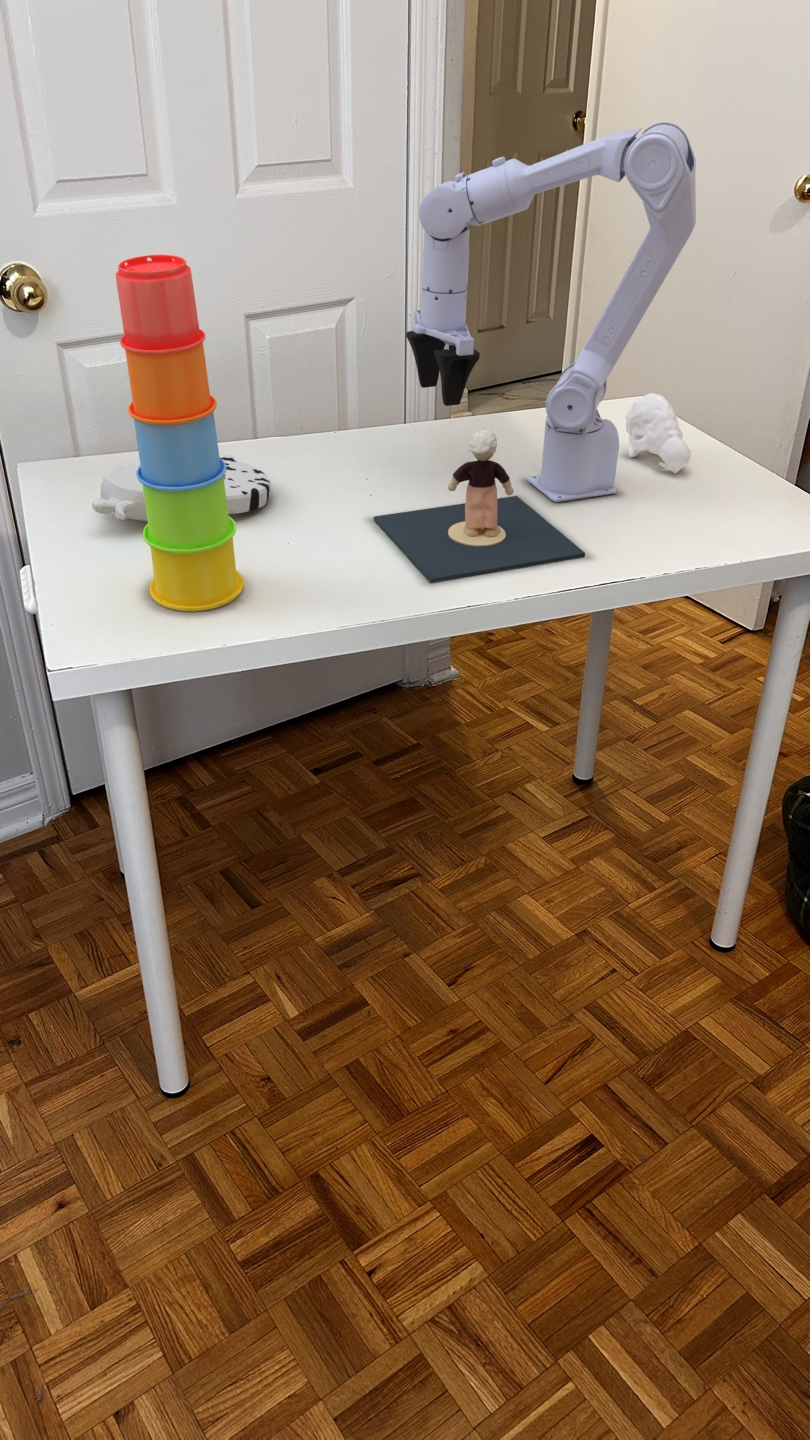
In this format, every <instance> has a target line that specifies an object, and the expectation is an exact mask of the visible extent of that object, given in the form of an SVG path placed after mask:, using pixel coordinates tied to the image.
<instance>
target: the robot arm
mask: <svg viewBox="0 0 810 1440" xmlns="http://www.w3.org/2000/svg"><path fill="white" fill-rule="evenodd" d="M642 130H643V127H637V128H632V129H626V130H623V131H619V132H613V133H611V134H607V135H604V136H602V137H599V138H597V139H594V140H592V141H589V142H586V143H584V144H581V145H579V146H576V147H574V148H570V149H569V150H566V151H564V152H561V153H559V154H556V155H554V156H551V157H548V158H546V159H544V160H540V161H539V162H536V163H533V164H530V165H529V164H526V163H524V162H522V161H520V160H519V159H516V158H511V159H508V160H506V157H505V156H500V157H498V158H495V159H493V160H492V161H491V164H492V165H491V166H489V167H487V168H484V169H481V170H478V171H475V172H473V173H470V174H467V175H466V173H465V172H464V171H463V172H460V173H458V174H456V175H455V176H454V179H455V180H449V181H446V182H442V183H441V184H440V185H437V186H436V187H434V188H432V189H431V190H430V191H428V192H427V193H426V194H425V196H423V198H422V200H421V201H420V205H419V209H418V217H419V218H418V219H419V222H420V225H421V227H422V229H423V230H424V231H423V232H424V233H423V235H424V236H423V249H422V268H421V269H422V272H421V273H422V274H421V300H420V301H421V302H420V303H421V305H420V306H421V307H420V309H414V310H413V324H412V325H411V330H409V331H406V333H405V337H406V339H407V341H408V343H409V345H410V347H411V350H412V353H413V356H414V357H413V358H414V361H415V366H416V370H417V376H418V383H419V385H420V387H421V388H422V389H424V388H432V387H433V388H434V387H437V384H438V382H439V377H440V384H441V385H440V386H441V398H442V403H443V405H444V406H445V407H450V406H451V407H452V406H459V405H460V404H461V401H462V399H463V395H464V392H465V389H466V385H467V382H468V380H469V378H470V375H471V373H472V372H473V369H474V368H475V366H476V364H477V363H478V361H479V360H480V356H481V352H479V351H478V350H477V349H475V338H474V337H472V336H471V333H470V331H469V327H468V324H467V323H466V322H467V321H466V320H467V302H468V286H469V285H468V283H469V266H470V233H471V231H470V230H471V229H470V227H471V226H476V227H481V226H483V225H485V224H489V223H491V222H495V221H497V220H500V219H503V218H504V219H505V218H506V217H510V216H513V215H515V214H518V213H520V212H524V211H527V210H528V209H529V208H530V206H531V204H532V201H533V199H534V197H535V195H536V194H537V195H538V194H540V193H543V192H547V191H549V190H553V189H556V188H559V187H563V186H565V185H570V184H573V183H576V182H578V181H582V180H585V179H589V178H591V177H594V176H601V177H603V178H606V179H608V180H611V181H614V182H617V183H620V182H621V181H622V180H623V179H624V178H625V177H626V180H627V182H628V183H629V185H630V186H631V188H632V189H633V190H634V193H636V195H637V196H638V197H639V199H640V200H641V201H642V203H643V207H644V212H645V214H646V217H647V220H648V225H649V230H648V232H647V233H646V236H645V237H644V238H643V241H642V243H641V244H640V246H639V247H638V250H637V251H636V253H635V255H634V257H633V258H632V261H631V262H630V264H629V266H628V267H627V269H626V271H625V272H624V275H623V276H622V279H621V280H620V282H619V284H618V286H617V287H616V289H615V291H614V293H613V294H612V296H611V298H610V300H609V302H608V304H607V305H606V307H605V308H604V310H603V313H602V314H601V315H600V318H599V320H598V321H597V323H596V325H595V327H594V328H593V330H592V332H591V334H590V335H589V338H588V339H587V341H586V343H585V345H584V346H583V348H582V350H581V352H580V353H579V355H578V357H577V359H576V360H575V361H574V362H573V363H571V364H570V365H568V366H567V367H565V369H563V371H562V372H561V374H560V376H559V379H558V380H557V383H556V384H555V385H554V387H552V388H551V390H550V391H549V392H548V395H547V397H546V401H545V411H546V417H545V425H544V435H543V436H544V437H543V447H542V455H541V466H540V474H539V475H533V476H528V477H527V482H529V483H530V484H531V485H532V486H533V487H535V488H536V489H537V490H539V492H541V493H542V494H544V495H545V497H547V498H549V499H550V500H551V501H552V502H554V503H557V502H558V503H559V502H560V503H561V502H566V501H573V500H579V499H587V498H593V497H599V496H606V495H612V494H616V493H617V488H615V482H616V481H615V480H616V473H617V466H618V458H619V451H620V438H619V431H618V429H617V426H616V425H615V424H614V423H613V421H611V420H610V419H607V418H602V417H601V415H600V412H599V410H598V407H599V405H600V403H601V402H602V401H603V399H604V398H605V395H606V393H607V384H608V383H607V382H608V378H609V377H610V374H611V372H612V370H613V369H614V368H615V365H616V364H617V362H618V360H619V358H620V357H621V355H622V354H623V351H624V350H625V348H626V346H627V344H628V343H629V341H630V340H631V338H632V337H633V335H634V333H635V331H636V329H637V327H638V326H639V324H640V322H641V321H642V319H643V317H644V315H645V314H646V312H647V311H648V309H649V307H650V305H651V303H652V302H653V300H654V298H655V297H656V295H657V293H658V292H659V290H660V289H661V286H663V283H664V281H665V279H666V278H667V276H668V274H669V273H670V271H671V269H672V267H673V266H674V264H675V263H676V261H677V259H678V258H679V256H680V254H681V252H682V250H683V248H685V245H686V244H687V242H688V241H689V239H690V237H691V235H692V234H693V231H694V228H695V226H696V222H697V205H696V204H697V202H696V201H697V200H696V199H697V198H696V172H697V171H696V167H697V159H696V157H695V154H694V151H693V148H692V145H691V143H690V139H689V137H688V135H687V134H686V132H685V131H684V130H683V129H682V127H680V126H679V125H677V124H675V123H673V122H668V121H660V122H657V123H654V124H652V125H650V126H648V127H647V128H646V129H645V130H644V131H642ZM640 131H642V133H641V134H640V135H639V136H637V135H638V134H639V133H640ZM446 345H448V349H445V347H446Z"/></svg>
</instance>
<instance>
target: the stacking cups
mask: <svg viewBox="0 0 810 1440" xmlns="http://www.w3.org/2000/svg"><path fill="white" fill-rule="evenodd" d="M148 258H149V259H150V260H148ZM117 269H118V270H117V271H116V273H115V281H116V286H117V287H116V288H117V294H118V295H117V296H118V301H119V308H120V317H121V321H122V329H123V335H122V336H121V338H120V340H119V344H120V347H121V348H122V349H124V352H125V358H126V359H125V360H126V364H127V365H126V366H127V371H128V379H129V386H130V392H131V400H132V401H131V402H130V404H129V405H128V407H127V412H128V415H129V416H130V417H131V418H132V419H133V424H134V430H135V437H136V443H137V451H138V459H139V464H140V466H139V468H138V469H137V472H136V476H137V479H138V481H139V482H140V483H141V484H142V486H143V492H144V499H145V506H146V514H147V521H146V522H147V524H146V525H145V526H144V527H143V530H142V536H143V537H142V538H143V540H144V542H145V543H146V544H147V545H148V546H149V548H150V554H151V563H152V569H153V579H152V580H151V581H150V584H149V594H150V597H151V598H152V599H153V601H155V603H157V604H158V605H160V606H162V607H164V608H167V609H170V610H174V611H181V612H200V611H201V612H202V611H208V610H213V609H216V608H219V607H222V606H224V605H227V604H229V603H231V602H233V601H234V600H236V598H238V597H239V596H240V595H241V593H242V592H243V589H244V587H245V582H244V580H245V579H244V577H243V575H242V574H241V573H240V571H238V570H237V566H236V564H237V563H236V557H235V547H234V546H235V545H234V536H235V534H236V532H237V524H236V522H235V519H233V518H232V517H231V516H230V515H229V514H228V508H227V500H226V492H225V483H224V474H225V472H226V464H225V462H224V461H223V460H222V459H221V458H222V457H220V452H219V443H218V436H217V435H218V434H217V428H216V420H215V414H214V413H215V412H214V411H215V410H216V408H217V406H218V404H217V400H216V398H215V397H214V396H213V395H211V392H210V386H209V385H210V384H209V379H208V377H209V376H208V370H207V363H206V355H205V347H204V341H205V340H206V333H205V331H203V330H202V329H201V328H200V324H199V318H198V310H197V303H196V296H195V295H196V294H195V289H194V282H193V275H192V269H191V266H189V265H188V264H187V260H186V259H185V258H184V257H182V256H178V255H172V254H147V255H141V256H134V257H131V258H126V259H124V260H123V261H121V262H119V264H118V265H117Z"/></svg>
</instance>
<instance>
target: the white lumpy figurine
mask: <svg viewBox="0 0 810 1440" xmlns="http://www.w3.org/2000/svg"><path fill="white" fill-rule="evenodd" d="M625 425H626V426H625V429H626V432H627V433H628V435H629V436H628V444H629V450H628V456H629V457H630V458H635V457H637V456H638V455H639V453H640V452H641V451H646V450H647V451H648V452H649V453H651V454H654V455H657V456H659V457H660V458H661V459H662V461H663V462H662V461H659V463H658V466H660V467H662V468H661V471H669V472H672V473H673V474H678V473H679V472H680V471H681V470H682V468H684V467H685V466H686V465H687V464H688V463H689V462H690V459H691V455H692V452H691V448H690V447H689V446H688V444H687V443H686V442H685V440H683V432H682V430H681V428H680V425H679V421H678V418H677V416H676V412H675V411H674V407H673V406H672V404H670V402H669V401H668V400H667V399H666V398H665V397H664V396H662V395H661V394H657V393H653V392H650V393H647V394H645V395H643V396H640V397H638V398H636V400H635V401H633V403H632V405H631V406H630V408H629V411H628V412H626V414H625Z"/></svg>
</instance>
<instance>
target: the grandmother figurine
mask: <svg viewBox="0 0 810 1440" xmlns="http://www.w3.org/2000/svg"><path fill="white" fill-rule="evenodd" d="M468 441H469V442H468V451H470V452H471V453H472V455H473V457H474V458H475V459H476V460H471V461H467V462H464V463H463V464H462V465H460V466H459V467H458V468H457V469H456V470H455V471H454V472H453V473H452V477H451V480H450V482H449V483H448V485H447V489H448V491H449V492H455V491H456V489H457V487H458V486H459V485H460V483H463V482H467V481H468V483H467V486H466V491H465V502H464V503H465V525H466V526H465V527H464V529H463V530H464V532H465V534H466V535H467V536H470V537H476V536H478V535H479V531H480V529H479V528H484V527H485V528H484V535H485V536H488V537H495V536H496V535H497V534H498V533H499V532H500V528H499V526H498V525H497V499H498V487H497V484H496V480H497V481H498V482H499V483H500V484H501V485H502V488H503V489H504V493H505V495H506V496H512V495H513V494H514V492H515V490H514V488H513V487H512V482H511V479H510V476H509V473H508V472H507V471H506V470H505V468H504V467H503V466H502V465H501V464H500V463H498V462H497V461H494V460H491V459H492V458H493V456H494V454H495V453H496V452H497V447H498V438H497V435H496V433H495V432H493V431H492V430H489V429H481V430H479V431H475V432H474V434H473V435H472V436H471V438H470V439H469V440H468Z"/></svg>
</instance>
